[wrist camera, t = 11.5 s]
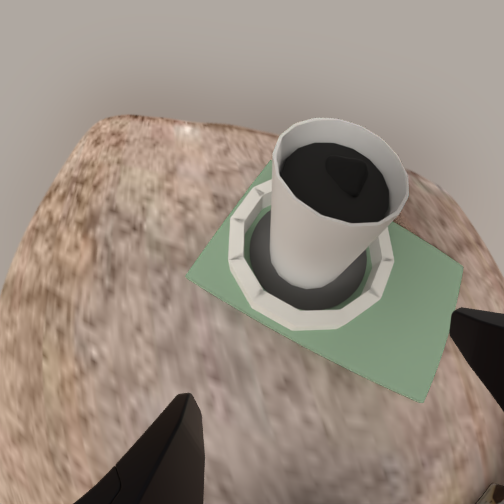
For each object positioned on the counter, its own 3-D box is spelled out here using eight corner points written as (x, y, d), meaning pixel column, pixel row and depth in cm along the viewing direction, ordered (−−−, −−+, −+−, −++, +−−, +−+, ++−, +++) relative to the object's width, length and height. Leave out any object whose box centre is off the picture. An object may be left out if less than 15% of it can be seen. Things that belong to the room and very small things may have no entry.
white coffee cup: (287, 201, 23) (305, 102, 14) (360, 237, 22) (416, 153, 12) (247, 268, 20) (244, 182, 11) (329, 310, 19) (393, 255, 10)
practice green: (460, 269, 21) (475, 258, 19) (419, 402, 17) (437, 404, 14) (270, 164, 26) (272, 144, 23) (186, 278, 21) (178, 266, 19)
